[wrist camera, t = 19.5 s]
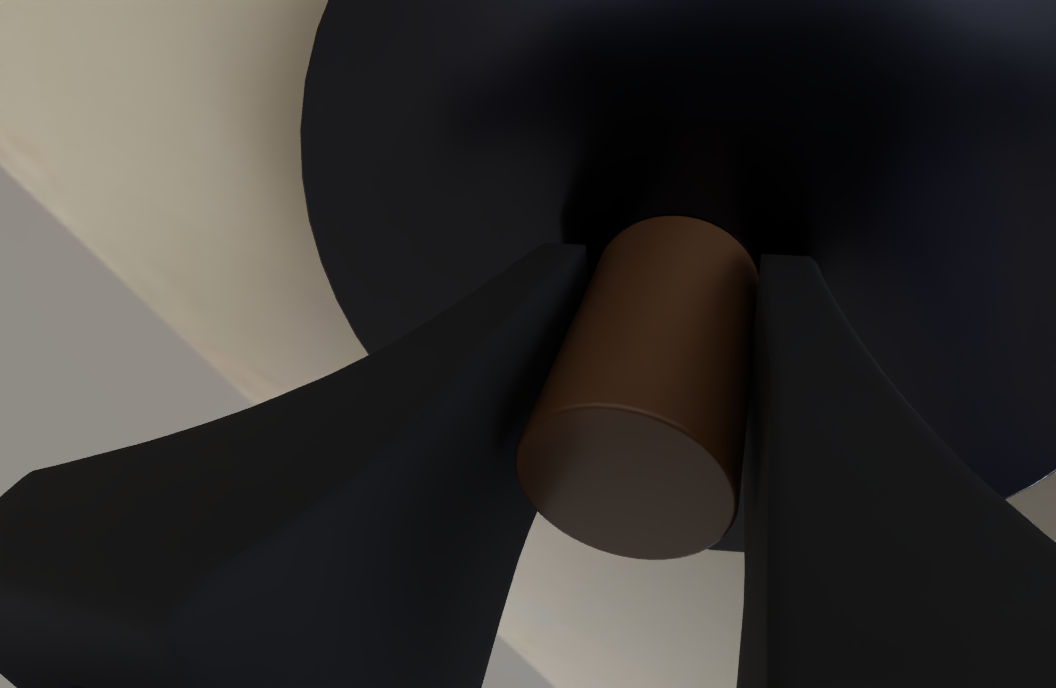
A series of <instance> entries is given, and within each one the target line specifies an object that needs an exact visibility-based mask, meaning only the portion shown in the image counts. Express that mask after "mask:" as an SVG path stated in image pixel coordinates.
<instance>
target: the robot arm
mask: <svg viewBox="0 0 1056 688" xmlns="http://www.w3.org/2000/svg"><path fill="white" fill-rule="evenodd" d="M588 285H589V282H588V269H587V256H586V245H578V244H558V243H545V244H543V245H541V246H540V247H538V248H536V249H535V250H533V251H532V252H530V253H529V254H527V255H526V256H524V257H523V258H521V259H520V260H518V261H517V262H515V263H514V264H512V265H511V266H510V267H508V268H507V269H505V270H504V271H502V272H501V273H500V274H498V275H497V276H495V277H494V278H492V279H491V280H490V281H488V282H487V283H485V284H484V285H482V286H481V287H479V288H478V289H476V290H475V291H473V292H472V293H471V294H469V295H468V296H466V297H465V298H463V299H462V300H460V301H459V302H457V303H456V304H454V305H453V306H451V307H450V308H448V309H446V310H445V311H443V312H442V313H440V314H438V315H437V316H435V317H433V318H432V319H430V320H429V321H427V322H425V323H424V324H422V325H421V326H419V327H417V328H416V329H414V330H412V331H411V332H409V333H408V334H406V335H404V336H403V337H401V338H399V339H398V340H396V341H394V342H392V343H390V344H389V345H387V346H385V347H383V348H381V349H380V350H378V351H376V352H374V353H372V354H370V355H368V356H366V357H364V358H362V359H360V360H358V361H356V362H354V363H352V364H350V365H348V366H346V367H344V368H342V369H340V370H338V371H336V372H334V373H332V374H330V375H327V376H325V377H323V378H321V379H319V380H316V381H314V382H311V383H309V384H306V385H304V386H302V387H299V388H297V389H294V390H292V391H290V392H287V393H285V394H282V395H280V396H278V397H275V398H273V399H270V400H268V401H265V402H263V403H261V404H258V405H256V406H253V407H251V408H248V409H245V410H242V411H240V412H237V413H234V414H231V415H229V416H225V417H222V418H220V419H217V420H214V421H211V422H208V423H205V424H202V425H199V426H196V427H193V428H190V429H187V430H184V431H180V432H177V433H174V434H171V435H168V436H164V437H161V438H157V439H154V440H151V441H147V442H144V443H141V444H137V445H133V446H129V447H125V448H121V449H118V450H114V451H110V452H106V453H102V454H98V455H94V456H91V457H87V458H83V459H80V460H75V461H71V462H68V463H64V464H60V465H56V466H52V467H48V468H43V469H39V470H35V471H32V472H30V473H29V474H27V475H26V476H24V477H23V478H22V479H21V480H20V481H18V482H17V483H16V484H15V485H14V486H13V487H11V488H10V489H9V490H8V491H7V492H5V493H4V494H3V495H2V496H1V497H0V674H2V675H3V676H4V677H5V678H6V679H7V680H9V681H10V682H11V683H12V684H13V685H14V686H16V687H17V688H481V687H482V683H483V680H484V676H485V673H486V669H487V665H488V661H489V658H490V655H491V651H492V648H493V644H494V641H495V637H496V633H497V630H498V626H499V623H500V619H501V616H502V613H503V609H504V606H505V603H506V599H507V596H508V593H509V589H510V586H511V583H512V579H513V576H514V573H515V570H516V566H517V563H518V560H519V557H520V554H521V551H522V549H523V546H524V543H525V540H526V538H527V535H528V532H529V530H530V527H531V525H532V523H533V520H534V518H535V516H536V513H537V510H536V509H535V508H534V506H533V505H532V504H531V503H530V501H529V500H528V498H527V497H526V495H525V494H524V492H523V490H522V488H521V486H520V484H519V481H518V478H517V474H516V468H515V450H516V447H517V443H518V440H519V438H520V436H521V434H522V432H523V429H524V427H525V425H526V423H527V420H528V418H529V416H530V414H531V411H532V409H533V407H534V405H535V403H536V400H537V398H538V396H539V394H540V391H541V389H542V387H543V385H544V383H545V380H546V378H547V376H548V374H549V371H550V369H551V367H552V365H553V363H554V360H555V358H556V356H557V354H558V351H559V349H560V347H561V345H562V343H563V340H564V338H565V336H566V334H567V331H568V329H569V327H570V325H571V323H572V320H573V318H574V316H575V314H576V311H577V309H578V307H579V305H580V303H581V300H582V298H583V296H584V294H585V291H586V289H587V287H588ZM743 481H744V554H745V580H744V608H743V619H742V631H741V643H740V655H739V666H738V678H737V688H1056V542H1054V541H1053V540H1052V539H1050V538H1049V537H1048V536H1047V535H1046V534H1044V533H1043V532H1042V531H1041V530H1040V529H1039V528H1037V527H1036V526H1035V525H1034V524H1033V523H1032V522H1030V521H1029V520H1028V519H1027V518H1026V517H1025V516H1023V515H1022V514H1021V513H1020V512H1019V511H1018V510H1016V509H1015V508H1014V507H1013V506H1012V505H1011V504H1009V503H1008V502H1007V501H1006V500H1005V499H1004V498H1002V497H1001V496H1000V495H999V494H998V493H997V492H996V491H994V490H993V489H992V488H991V487H990V486H989V485H987V484H986V483H985V482H984V481H983V480H982V479H981V478H980V477H979V476H978V475H977V474H976V473H974V472H973V471H972V470H971V469H970V468H969V467H968V466H967V465H966V464H965V463H964V462H963V461H962V460H961V459H960V458H959V457H958V456H957V455H956V454H955V453H954V452H953V451H952V450H951V449H950V448H949V447H948V446H947V445H946V444H945V443H944V442H943V441H942V440H941V439H940V438H939V437H938V436H937V435H936V434H935V432H934V431H933V430H932V429H931V428H930V427H929V426H928V425H927V424H926V423H925V421H924V420H923V419H922V418H921V417H920V416H919V415H918V414H917V412H916V411H915V410H914V409H913V408H912V407H911V405H910V404H909V403H908V402H907V401H906V400H905V398H904V397H903V396H902V395H901V393H900V392H899V391H898V390H897V388H896V387H895V386H894V385H893V383H892V382H891V381H890V380H889V378H888V377H887V376H886V375H885V373H884V372H883V371H882V369H881V368H880V367H879V365H878V364H877V363H876V361H875V360H874V359H873V357H872V356H871V354H870V353H869V351H868V350H867V349H866V347H865V346H864V344H863V343H862V341H861V340H860V338H859V337H858V335H857V334H856V332H855V331H854V330H853V328H852V327H851V325H850V323H849V322H848V320H847V319H846V317H845V316H844V314H843V312H842V311H841V309H840V307H839V305H838V304H837V302H836V300H835V299H834V297H833V295H832V293H831V291H830V290H829V288H828V286H827V284H826V282H825V280H824V278H823V276H822V273H821V271H820V269H819V266H818V264H817V263H816V262H815V261H814V260H813V259H812V258H811V257H810V256H792V255H773V254H761V260H760V270H759V280H758V290H757V300H756V309H755V319H754V329H753V339H752V376H751V387H750V397H749V408H748V418H747V428H746V439H745V449H744V459H743Z"/></svg>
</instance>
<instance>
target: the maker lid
mask: <svg viewBox="0 0 1056 688" xmlns="http://www.w3.org/2000/svg"><path fill="white" fill-rule="evenodd" d="M300 134H301V161H302V179H303V186H304V192H305V198H306V204H307V210H308V216H309V222H310V225H311V229H312V232H313V236H314V239H315V243H316V246H317V250H318V253H319V257H320V260H321V263H322V266H323V268H324V271H325V273H326V275H327V278H328V280H329V283H330V285H331V288H332V290H333V292H334V295H335V297H336V300H337V302H338V304H339V305H340V307H341V309H342V311H343V313H344V315H345V317H346V318H347V320H348V322H349V324H350V326H351V328H352V329H353V331H354V333H355V335H356V337H357V338H358V340H359V341H360V343H361V344H362V345H363V347H364V348H365V350H366V351H367V353H368V354H369V355H370V354H372V353H374V352H376V351H378V350H380V349H381V348H383V347H385V346H387V345H389V344H390V343H392V342H394V341H396V340H398V339H399V338H401V337H403V336H404V335H406V334H408V333H409V332H411V331H412V330H414V329H416V328H417V327H419V326H421V325H422V324H424V323H425V322H427V321H429V320H430V319H432V318H433V317H435V316H437V315H438V314H440V313H442V312H443V311H445V310H446V309H448V308H450V307H451V306H453V305H454V304H456V303H457V302H459V301H460V300H462V299H463V298H465V297H466V296H468V295H469V294H471V293H472V292H473V291H475V290H476V289H478V288H479V287H481V286H482V285H484V284H485V283H487V282H488V281H490V280H491V279H492V278H494V277H495V276H497V275H498V274H500V273H501V272H502V271H504V270H505V269H507V268H508V267H510V266H511V265H512V264H514V263H515V262H517V261H518V260H520V259H521V258H523V257H524V256H526V255H527V254H529V253H530V252H532V251H533V250H535V249H536V248H538V247H540V246H541V245H543V244H545V243H558V244H578V245H586V256H587V269H588V282H589V285H588V287H587V289H586V291H585V294H584V296H583V298H582V300H581V303H580V305H579V307H578V309H577V311H576V314H575V316H574V318H573V320H572V323H571V325H570V327H569V329H568V331H567V334H566V336H565V338H564V340H563V343H562V345H561V347H560V349H559V351H558V354H557V356H556V358H555V360H554V363H553V365H552V367H551V369H550V371H549V374H548V376H547V378H546V380H545V383H544V385H543V387H542V389H541V391H540V394H539V396H538V398H537V400H536V403H535V405H534V407H533V409H532V411H531V414H530V416H529V418H528V420H527V423H526V425H525V427H524V429H523V432H522V434H521V436H520V438H519V440H518V443H517V447H516V450H515V468H516V474H517V478H518V481H519V484H520V486H521V488H522V490H523V492H524V494H525V495H526V497H527V498H528V500H529V501H530V503H531V504H532V505H533V506H534V508H535V509H536V510H537V511H538V512H539V513H540V514H541V515H542V516H543V517H544V518H545V519H546V520H548V521H549V522H550V523H551V524H552V525H554V526H555V527H557V528H558V529H559V530H561V531H562V532H564V533H565V534H567V535H569V536H570V537H572V538H574V539H576V540H578V541H580V542H582V543H584V544H586V545H588V546H591V547H593V548H596V549H598V550H602V551H605V552H608V553H611V554H615V555H619V556H624V557H629V558H636V559H647V560H666V559H676V558H681V557H686V556H690V555H693V554H696V553H699V552H701V551H703V550H705V549H709V550H720V551H734V552H744V481H743V459H744V449H745V439H746V428H747V418H748V408H749V397H750V387H751V376H752V339H753V329H754V319H755V309H756V300H757V290H758V280H759V270H760V260H761V254H773V255H792V256H810V257H811V258H812V259H813V260H814V261H815V262H816V263H817V264H818V266H819V269H820V271H821V273H822V276H823V278H824V280H825V282H826V284H827V286H828V288H829V290H830V291H831V293H832V295H833V297H834V299H835V300H836V302H837V304H838V305H839V307H840V309H841V311H842V312H843V314H844V316H845V317H846V319H847V320H848V322H849V323H850V325H851V327H852V328H853V330H854V331H855V332H856V334H857V335H858V337H859V338H860V340H861V341H862V343H863V344H864V346H865V347H866V349H867V350H868V351H869V353H870V354H871V356H872V357H873V359H874V360H875V361H876V363H877V364H878V365H879V367H880V368H881V369H882V371H883V372H884V373H885V375H886V376H887V377H888V378H889V380H890V381H891V382H892V383H893V385H894V386H895V387H896V388H897V390H898V391H899V392H900V393H901V395H902V396H903V397H904V398H905V400H906V401H907V402H908V403H909V404H910V405H911V407H912V408H913V409H914V410H915V411H916V412H917V414H918V415H919V416H920V417H921V418H922V419H923V420H924V421H925V423H926V424H927V425H928V426H929V427H930V428H931V429H932V430H933V431H934V432H935V434H936V435H937V436H938V437H939V438H940V439H941V440H942V441H943V442H944V443H945V444H946V445H947V446H948V447H949V448H950V449H951V450H952V451H953V452H954V453H955V454H956V455H957V456H958V457H959V458H960V459H961V460H962V461H963V462H964V463H965V464H966V465H967V466H968V467H969V468H970V469H971V470H972V471H973V472H974V473H976V474H977V475H978V476H979V477H980V478H981V479H982V480H983V481H984V482H985V483H986V484H987V485H989V486H990V487H991V488H992V489H993V490H994V491H996V492H997V493H998V494H999V495H1000V496H1001V497H1002V498H1004V499H1007V498H1009V497H1011V496H1013V495H1015V494H1017V493H1019V492H1021V491H1023V490H1025V489H1027V488H1029V487H1031V486H1033V485H1035V484H1037V483H1038V482H1040V481H1041V480H1043V479H1044V478H1046V477H1048V476H1049V475H1051V474H1052V473H1054V472H1055V471H1056V0H328V3H327V5H326V8H325V10H324V13H323V15H322V18H321V21H320V23H319V26H318V28H317V32H316V36H315V40H314V45H313V49H312V53H311V57H310V62H309V66H308V70H307V75H306V79H305V86H304V97H303V108H302V118H301V129H300Z"/></svg>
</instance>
